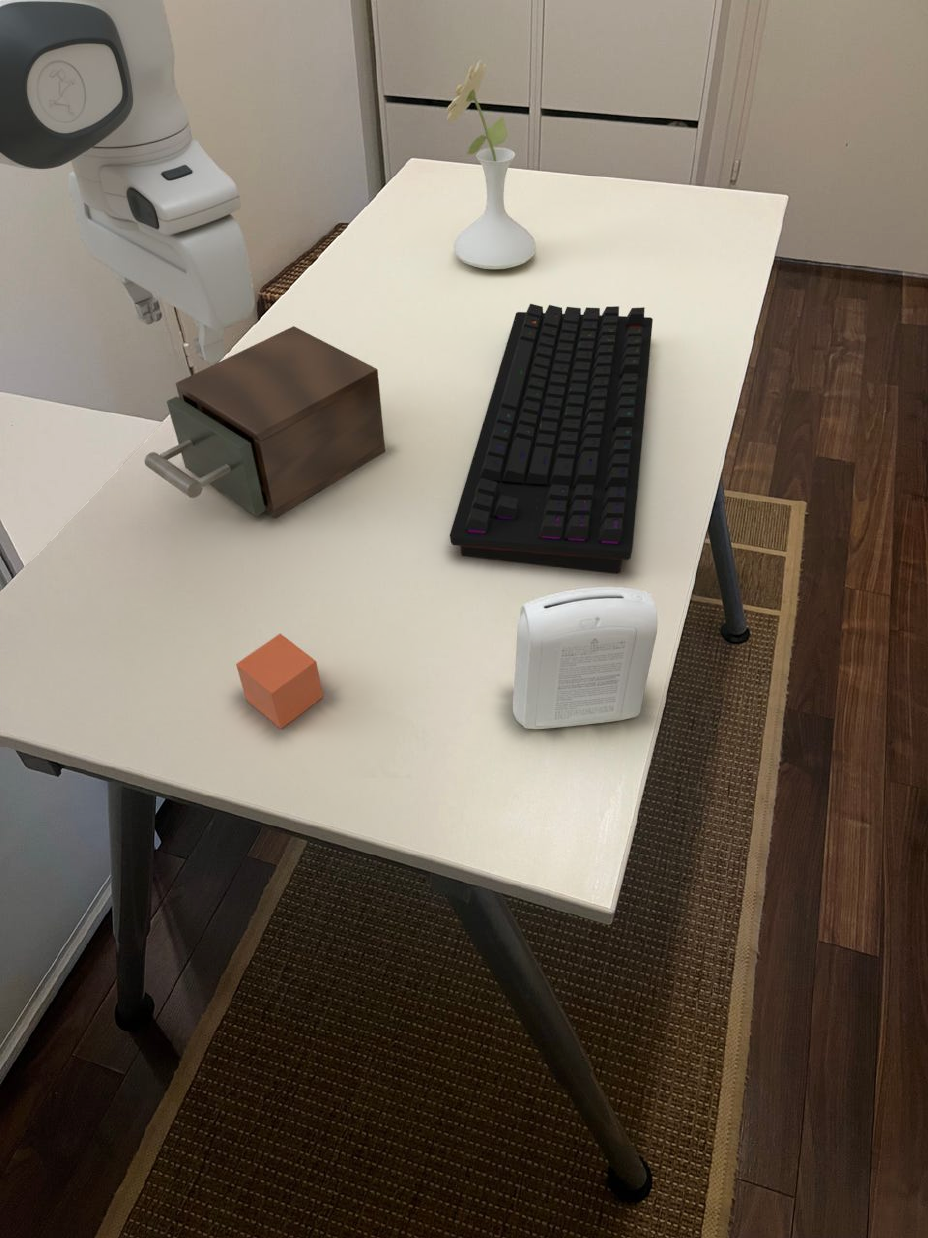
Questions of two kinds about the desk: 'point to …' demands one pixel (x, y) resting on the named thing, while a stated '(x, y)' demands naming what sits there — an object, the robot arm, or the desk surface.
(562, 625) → the photo printer
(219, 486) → the drawer
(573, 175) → the desk surface
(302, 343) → the cabinet
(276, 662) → the block
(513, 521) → the keyboard
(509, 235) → the flower in vase
